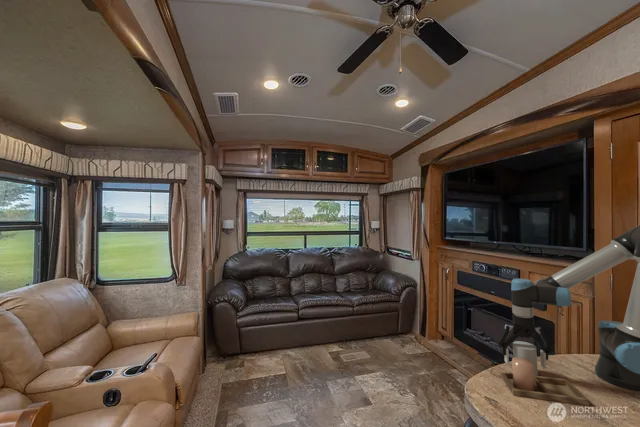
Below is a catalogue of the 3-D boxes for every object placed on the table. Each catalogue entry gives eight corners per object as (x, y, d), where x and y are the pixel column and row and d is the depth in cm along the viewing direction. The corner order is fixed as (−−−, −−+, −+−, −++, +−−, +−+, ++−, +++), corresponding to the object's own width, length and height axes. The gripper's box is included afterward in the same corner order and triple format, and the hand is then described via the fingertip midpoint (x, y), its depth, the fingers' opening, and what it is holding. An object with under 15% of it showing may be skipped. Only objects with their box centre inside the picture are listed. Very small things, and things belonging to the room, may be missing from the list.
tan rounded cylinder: (530, 383, 107) (529, 358, 108) (539, 394, 101) (537, 367, 101) (510, 381, 109) (509, 356, 110) (517, 391, 103) (516, 364, 103)
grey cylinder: (542, 379, 111) (540, 350, 111) (520, 377, 113) (518, 348, 113) (531, 369, 119) (529, 341, 119) (510, 367, 121) (509, 340, 121)
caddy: (566, 385, 106) (566, 379, 107) (589, 407, 94) (588, 400, 94) (500, 377, 113) (500, 371, 113) (513, 396, 100) (513, 390, 101)
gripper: (552, 314, 117) (554, 364, 116) (487, 310, 124) (489, 356, 123) (562, 320, 110) (565, 373, 109) (493, 315, 117) (495, 365, 116)
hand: (524, 364), depth 116 cm, fingers open, 13 cm apart
